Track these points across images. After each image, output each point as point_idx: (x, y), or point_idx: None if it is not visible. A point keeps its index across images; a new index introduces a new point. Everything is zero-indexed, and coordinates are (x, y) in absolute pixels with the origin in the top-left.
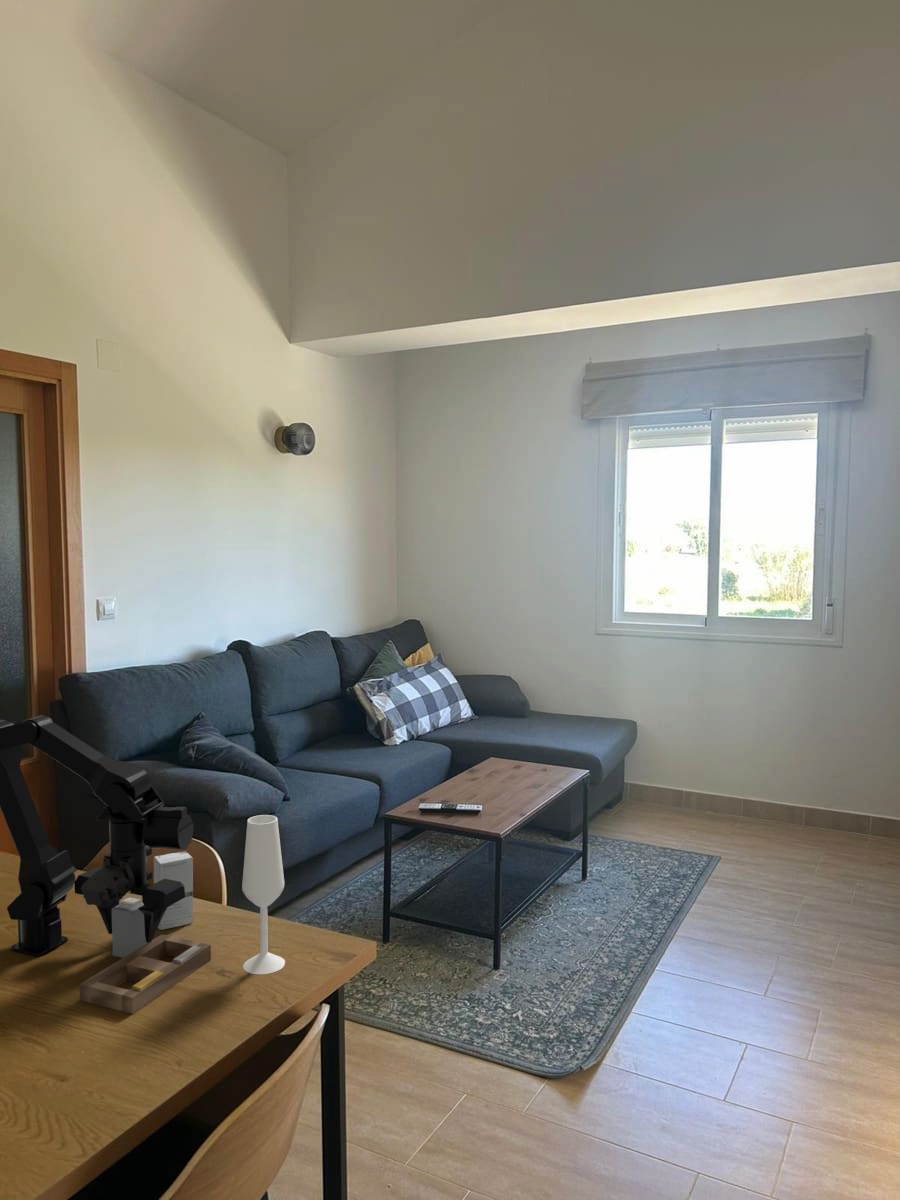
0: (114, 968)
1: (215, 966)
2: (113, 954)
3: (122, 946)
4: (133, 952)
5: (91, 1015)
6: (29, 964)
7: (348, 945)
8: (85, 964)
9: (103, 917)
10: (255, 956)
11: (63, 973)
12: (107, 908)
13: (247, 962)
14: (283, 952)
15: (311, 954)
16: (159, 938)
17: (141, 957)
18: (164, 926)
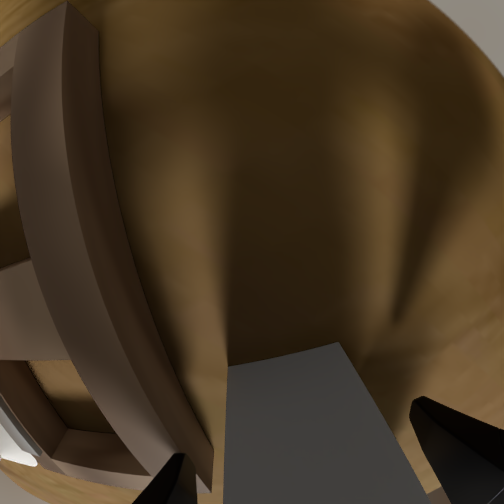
0: (35, 188)
1: None
2: (336, 346)
3: (288, 391)
4: (126, 372)
5: None
6: (501, 118)
7: (25, 487)
8: (376, 218)
9: (484, 433)
10: (3, 447)
11: (380, 107)
12: (490, 482)
13: (8, 437)
14: (34, 473)
15: (16, 469)
16: None
17: (55, 351)
18: None
